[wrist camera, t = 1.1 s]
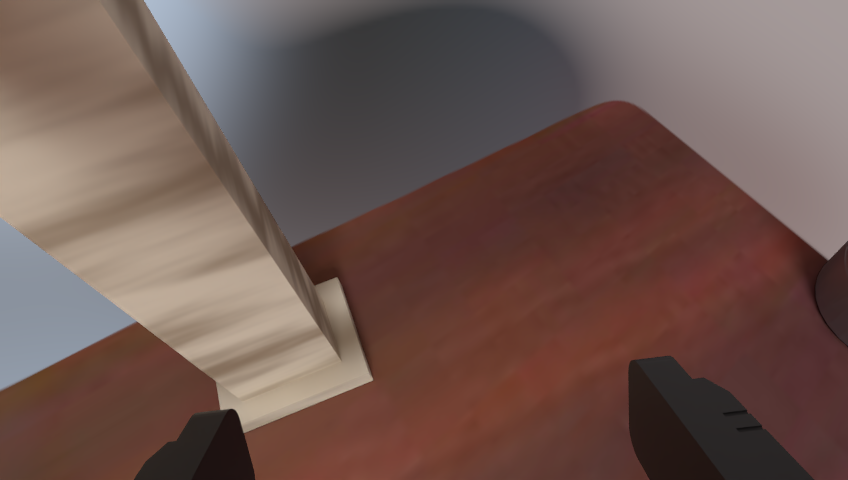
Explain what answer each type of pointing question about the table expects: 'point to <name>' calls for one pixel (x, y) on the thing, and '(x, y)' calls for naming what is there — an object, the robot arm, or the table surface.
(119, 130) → the rail stand
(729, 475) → the robot arm
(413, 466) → the table surface
